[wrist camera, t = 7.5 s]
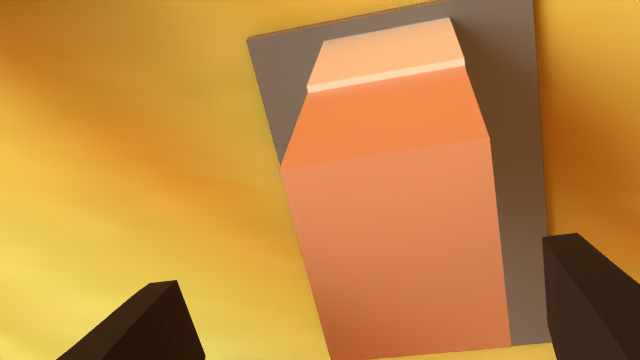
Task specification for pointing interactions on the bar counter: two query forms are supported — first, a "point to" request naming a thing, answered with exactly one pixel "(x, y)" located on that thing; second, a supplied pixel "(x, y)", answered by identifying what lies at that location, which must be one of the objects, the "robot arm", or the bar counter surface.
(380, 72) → the cream block
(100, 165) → the bar counter surface
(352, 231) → the terracotta block
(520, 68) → the baseplate
